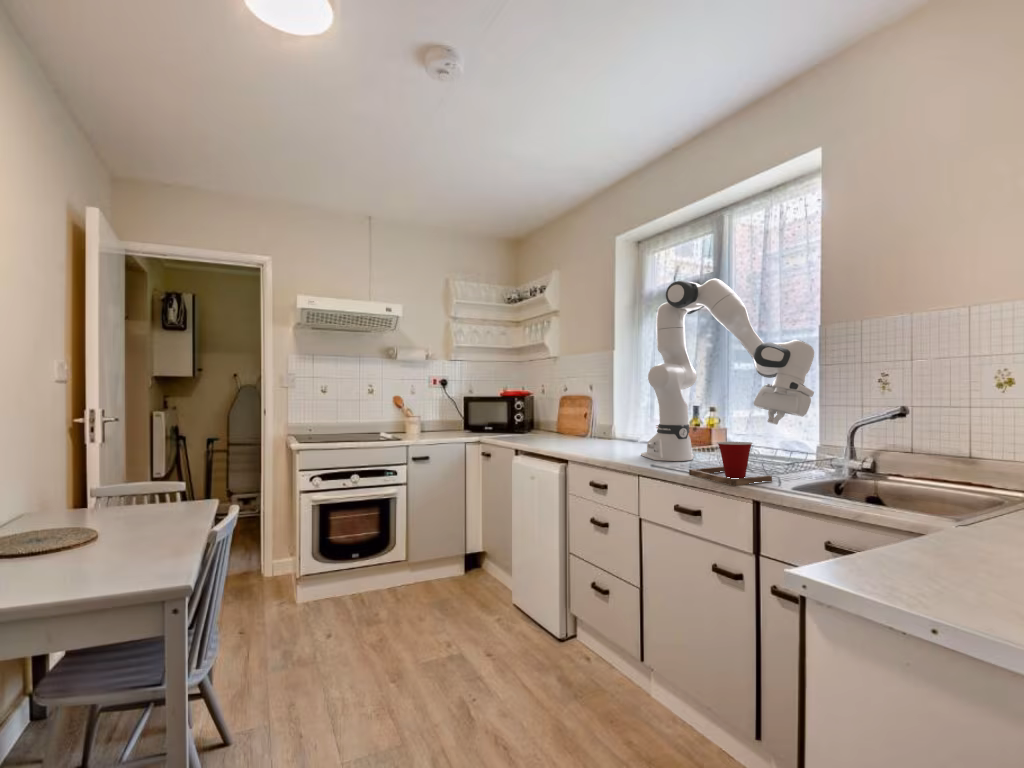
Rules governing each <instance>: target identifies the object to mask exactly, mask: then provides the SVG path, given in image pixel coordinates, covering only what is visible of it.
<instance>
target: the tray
mask: <svg viewBox="0 0 1024 768" xmlns="http://www.w3.org/2000/svg"><path fill="white" fill-rule="evenodd" d="M720 471H725V470H724V467H723V465H722V466H713V467H712V466H711V467H704V468H703V467H700V468H692V469H688V475H689V476H693V477H696V478H700V479H704V480H708V481H712V482H716V483H720V484H725V485H729V486H733V487H737V486H746V485H745V484H747V485H750V484H749V483H754V482H762V481H772V482H773V476H772V475H770V474H769V475H759V476H750V477H745V478H739V479H731V478H727V477H726V476H724V475H718V474H715V473H714V472H720ZM710 473H711V474H710Z"/></svg>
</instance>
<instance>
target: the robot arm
mask: <svg viewBox="0 0 1024 768" xmlns="http://www.w3.org/2000/svg"><path fill="white" fill-rule="evenodd" d="M665 299H666V301H667V302H664V303H662V304H660V306H658V307H657V313H656V322H655V323H656V325H655V327H656V347H657V350H658V353H660V355H661V357H662V359H663V363H658V364H657V365H654V366H652V367H651V368H650V370H649V371H648V375H647V380H648V383H649V384H650V386H651V387H652V388H653V390H654V393H655V395H656V398H657V402H658V414H659V424H658V425H655V428H656V433H655V435H654V436H652V437H651V438H650V439H649V440H648V441H647V444H646V451H645V452H641V453H640V454H641V456H643V457H644V458H647V459H650V460H654V461H668V462H683V461H684V462H685V461H686V462H687V461H692V460H693V459H694V457H695V454H693V449H692V442H691V441H692V440H691V437H690V435H689V433H690V424H689V407H688V403H687V402H686V401H685V399H684V397H683V393H682V391H683V390H686V389H688V388H690V387H693V385H695V384H696V382H697V378H698V377H697V376H698V375H697V372H696V370H695V368H694V367H693V365H692V363H691V361H690V358H689V354H688V351H687V346H686V342H687V341H686V328H685V319H686V318H685V317H686V315H692V314H693V313H695V312H699V311H700V310H702V309H704V308H706V309H707V311H708V312H709V313H710V314H711V316H712V317H713V318H714V319H715V320H716V321H717V322H718V323H720V324H721V325H722V326H723V327H724V328H725V329H726V330H727V331H728V332H729V333H731V334H732V335H733V336H734V338H736V339H737V340H738V342H739V343H740V344H741V345H742V346H743V348H744V349H745V350H746V351H747V352H748V354H749V355H750V356H751V358H752V360H753V363H754V367H755V371H756V372H757V373H758V374H759V376H761V377H764V378H766V379H767V378H768V379H771V378H772V379H773V378H774V380H773V382H772V384H770V383H766V384H764V385H763V386H762V387H761V388H760V389H759V391H758V393H757V394H756V396H755V398H754V400H753V406H754V407H756V408H759V409H762V410H768V411H767V414H768V418H767V423H769V424H773V425H778V424H779V421H781V419H783V418H784V417H785V414H787V415H791V416H796V417H797V416H798V417H804V416H806V415H807V414H808V411H809V409H810V406H811V403H812V397H813V396H814V393H815V391H813V390H812V389H810V388H809V387H807V386H806V385H805V381H806V380H805V379H806V376H807V374H808V373H809V372H810V369H811V367H812V364H813V361H814V358H815V350H814V347H813V346H811V345H810V344H809V343H808V342H806V341H803V340H798V339H792V340H791V341H787V342H772V341H771V342H770V341H769V342H768V341H767V342H764V341H763V340H762V339H761V337H760V336H759V335H758V334H757V333H756V331H755V330H754V328H753V326H752V324H751V321H750V319H749V314H748V311H747V308H746V305H745V304H744V303H743V301H742V300H741V297H739V296H738V294H737V293H736V292H735V291H734V290H733V289H732V288H731V287H730V286H729V285H727V284H726V283H725V282H724V281H723V280H721V279H718V278H710V279H708V280H707V281H705V282H704V283H703V284H699V283H697V282H694V281H686V280H677V281H674V282H672V283H671V284H669V285H668V287H667V288H666V290H665Z"/></svg>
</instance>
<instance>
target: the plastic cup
mask: <svg viewBox="0 0 1024 768" xmlns="http://www.w3.org/2000/svg"><path fill="white" fill-rule="evenodd" d="M716 444H717V445H718V447H719V451H720V455H721V456H720V457H721V460H722V464H723V465H722V466H723V467H724V470H725V472H724V477H730V478H744V477H745V478H746V476H747V469H748V464H749V459H750V458H749V457H750V453H751V447H752V446H753V444H754V443H753V442H751V441H718V442H716Z"/></svg>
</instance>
